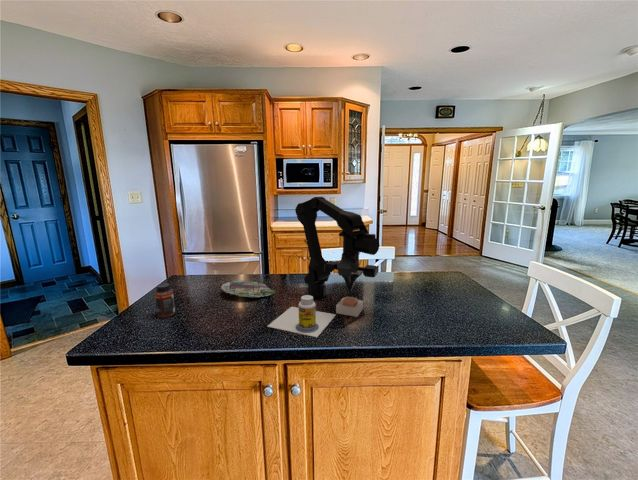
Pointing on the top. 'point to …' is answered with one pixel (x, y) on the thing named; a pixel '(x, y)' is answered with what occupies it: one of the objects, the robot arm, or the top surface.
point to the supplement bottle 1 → (164, 301)
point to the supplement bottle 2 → (307, 313)
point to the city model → (247, 289)
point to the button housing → (349, 308)
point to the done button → (350, 301)
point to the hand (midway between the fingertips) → (350, 291)
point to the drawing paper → (291, 322)
